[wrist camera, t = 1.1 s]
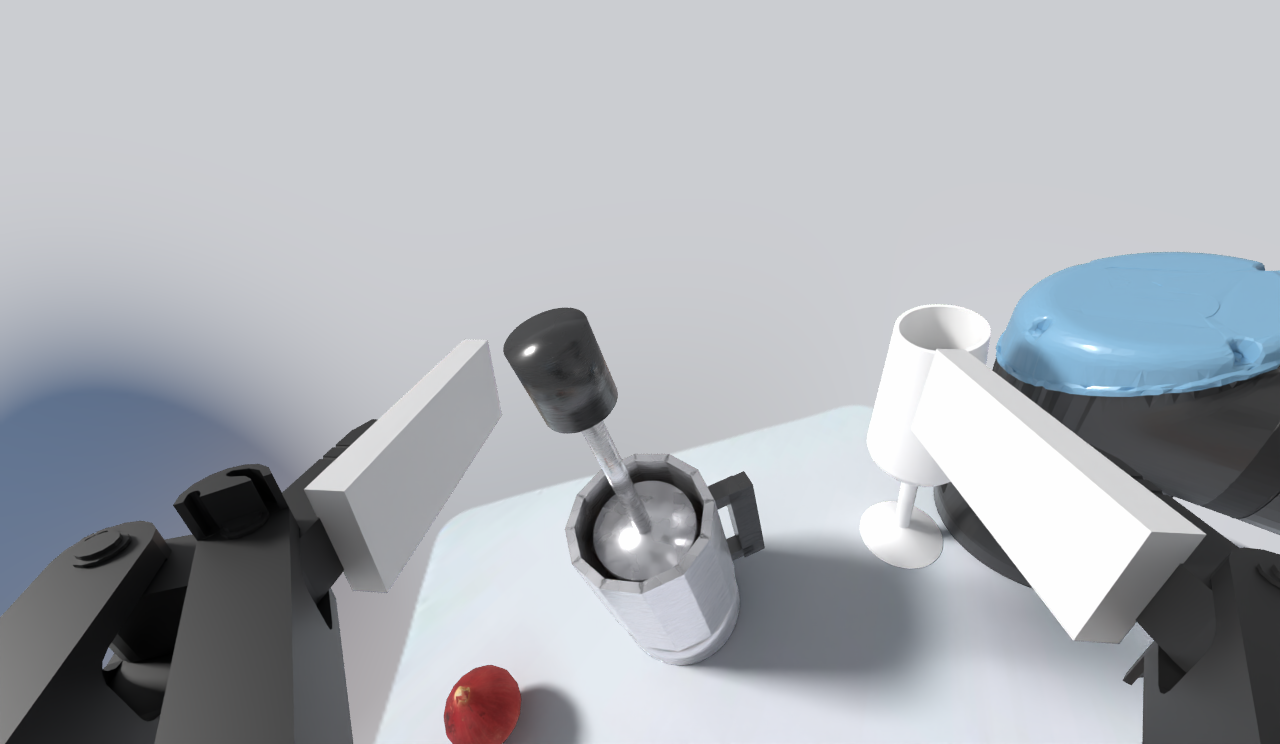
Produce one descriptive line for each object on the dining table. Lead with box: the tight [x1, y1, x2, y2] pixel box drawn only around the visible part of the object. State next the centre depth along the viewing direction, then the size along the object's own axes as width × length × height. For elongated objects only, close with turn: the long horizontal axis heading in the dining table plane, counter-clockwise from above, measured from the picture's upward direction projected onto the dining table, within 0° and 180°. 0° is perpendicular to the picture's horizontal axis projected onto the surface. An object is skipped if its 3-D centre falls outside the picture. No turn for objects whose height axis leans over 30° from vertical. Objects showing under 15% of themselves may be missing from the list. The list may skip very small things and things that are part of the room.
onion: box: [444, 665, 521, 744], centre depth 36 cm, size 6×6×8 cm
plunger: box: [504, 308, 698, 583], centre depth 28 cm, size 8×8×19 cm
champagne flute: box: [860, 304, 991, 569], centre depth 34 cm, size 7×7×24 cm
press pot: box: [565, 454, 765, 665], centre depth 38 cm, size 14×11×15 cm
